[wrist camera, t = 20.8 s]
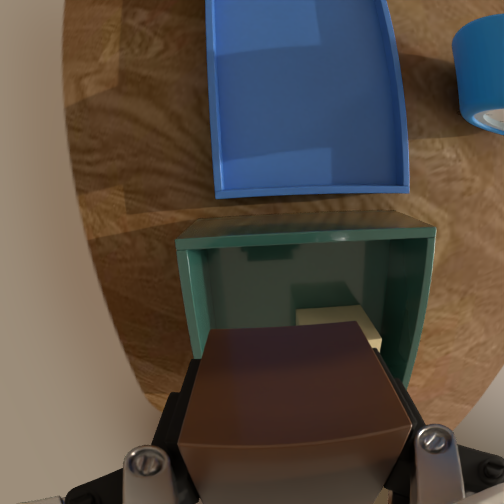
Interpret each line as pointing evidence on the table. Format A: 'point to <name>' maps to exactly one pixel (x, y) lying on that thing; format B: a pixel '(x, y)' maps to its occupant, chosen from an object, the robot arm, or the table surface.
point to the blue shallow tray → (305, 98)
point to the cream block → (340, 320)
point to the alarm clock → (481, 72)
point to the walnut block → (291, 417)
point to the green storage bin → (309, 274)
